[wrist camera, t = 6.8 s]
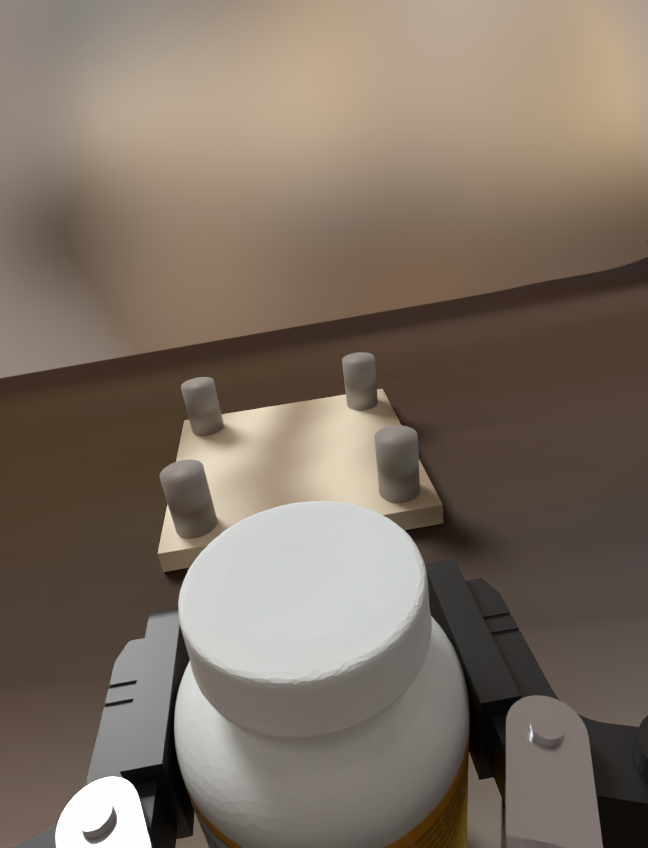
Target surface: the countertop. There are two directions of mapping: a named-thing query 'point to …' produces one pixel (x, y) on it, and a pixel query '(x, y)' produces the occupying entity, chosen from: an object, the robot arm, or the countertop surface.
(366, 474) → the pin base
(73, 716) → the countertop surface
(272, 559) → the supplement bottle
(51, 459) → the countertop surface
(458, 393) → the countertop surface
